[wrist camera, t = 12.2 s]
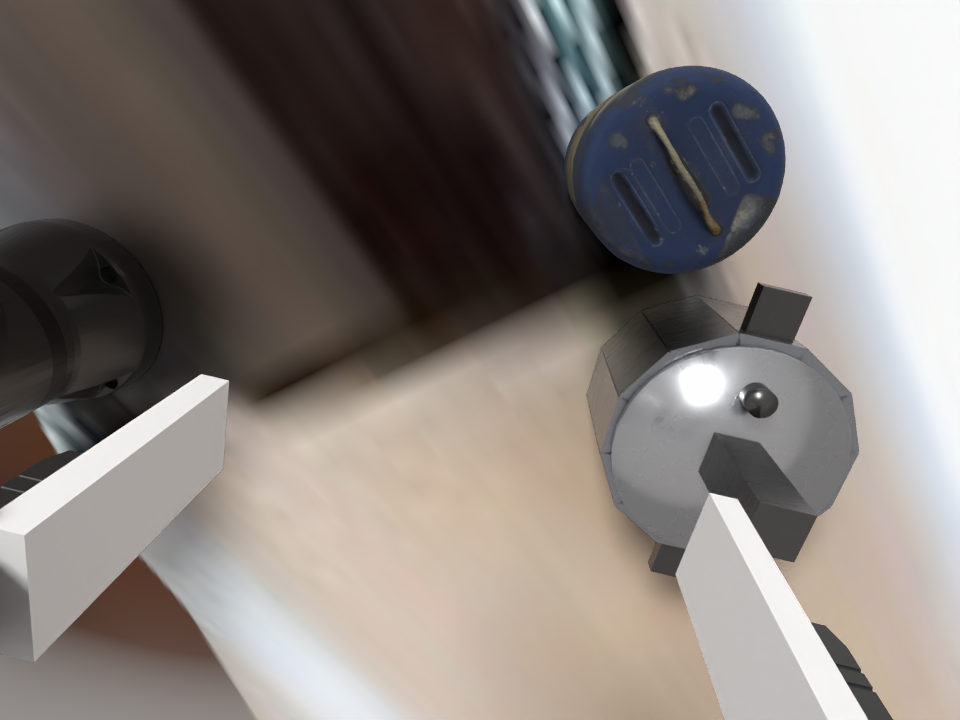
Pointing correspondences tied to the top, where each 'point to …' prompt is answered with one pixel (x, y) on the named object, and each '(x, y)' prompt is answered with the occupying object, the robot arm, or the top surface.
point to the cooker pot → (684, 332)
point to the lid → (732, 444)
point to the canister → (677, 168)
